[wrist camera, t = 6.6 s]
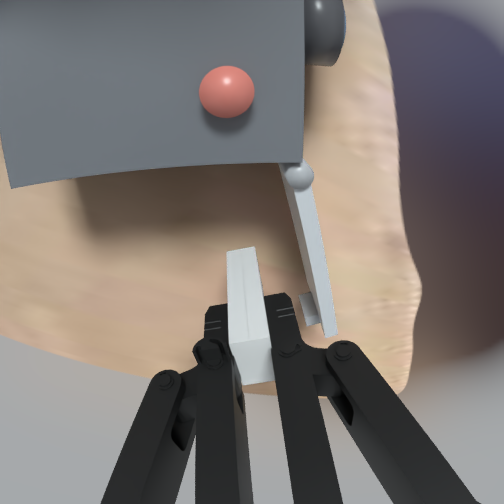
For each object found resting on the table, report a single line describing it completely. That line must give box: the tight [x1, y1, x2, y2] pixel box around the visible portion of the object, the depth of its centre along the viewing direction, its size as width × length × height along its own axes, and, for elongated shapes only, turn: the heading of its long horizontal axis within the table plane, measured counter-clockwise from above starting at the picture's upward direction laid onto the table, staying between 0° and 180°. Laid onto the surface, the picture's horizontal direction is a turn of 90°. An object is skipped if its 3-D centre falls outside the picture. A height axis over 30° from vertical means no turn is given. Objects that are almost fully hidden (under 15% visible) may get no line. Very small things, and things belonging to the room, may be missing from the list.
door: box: [278, 159, 338, 338], centre depth 19 cm, size 11×2×6 cm, turn 16°
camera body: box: [0, 0, 346, 189], centre depth 13 cm, size 16×10×8 cm, turn 91°
